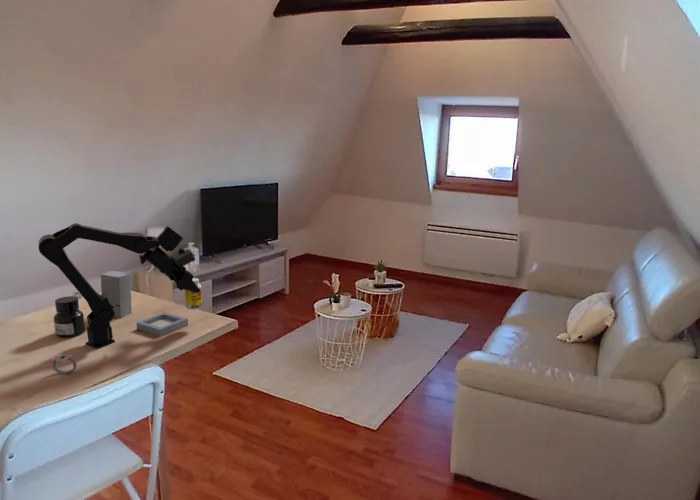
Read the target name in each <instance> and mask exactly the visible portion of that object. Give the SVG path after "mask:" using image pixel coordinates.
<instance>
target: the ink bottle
mask: <svg viewBox="0 0 700 500" xmlns="http://www.w3.org/2000/svg"><path fill="white" fill-rule="evenodd" d="M54 304H55V311H56V314H55V315H53V325H54V333H55V336H56V337H58V338H64V339H65V338H72V337H77V336H79V335H82V334H83V333H84V332H85V331H86V324H85V317H84V313H83V311H81V310H80V305H79V298H78V297H77V296H74V295H73V296H69V295H68V296H64V297H59V298H56V299H55V300H54Z"/></svg>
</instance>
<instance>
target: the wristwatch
mask: <svg viewBox="0 0 700 500" xmlns="http://www.w3.org/2000/svg"><path fill="white" fill-rule="evenodd" d="M68 361H70V362H71V363H72V366H73V368H72V369H70V370H67V371H66V370H65V371H64V370H61V369H60V368H59V367H58V366H57V362H68ZM52 369H53V370H54V371H55V372H57V373H58V374H61V375H67V374H71V373H73V372H74V371H75V370H76V369H77V362H76V360H75V359H74V358H73V356H72V355H71V354H70V355H69V354H68V355H67V354H63V355H62V354H60V355H59V356H58V357H56V358H55V360H54V361H53V363H52Z"/></svg>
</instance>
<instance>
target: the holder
mask: <svg viewBox="0 0 700 500" xmlns="http://www.w3.org/2000/svg"><path fill="white" fill-rule="evenodd" d="M188 325H189V318H188V317H182V316H180V315H178V314H172V313H169V312H166V311H164V312H161V313H158V314H155V315H152V316H150V317H148V318H144V319H143V320H139V321H137V322H136V329H137V330H139V331H141V332H145V333H148V334H151V335H155V336H158V337H163V336H165V335H168V334H170V333H173V332H175V331H178V330H180V329H182V328H184V327H187V326H188Z"/></svg>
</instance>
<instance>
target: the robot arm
mask: <svg viewBox="0 0 700 500" xmlns="http://www.w3.org/2000/svg"><path fill="white" fill-rule="evenodd" d="M78 239H82V240H88V241H91V242H92V241H93V242H98V243H103V244H108V245H114V246H118V247H121V248H123V249H125V250H127V251H130V252H133V253H136V254H138V258H139V263H140V264H141V265H144V264H145V263H146V262H148V263H149V264H151V265H152V266H154V267H155V269H157V270H158V271H159V272H160V273H161V274H162V275H165V276H166V277H167V278H168V279H169V280H170V281H171V282H174V283H173V284H174V286H175V287H176V288H177V290H179V291H183V290H184V291H185V290H189V291H193V292H197V293H199V292H200V289H199V288H198V287H197V285H196V284H195V283H194V282H193V280H192V279H193V278H195V276H194V274H193V273H191V272H190V271H189V270H187V267H186V265H188V264H190V263H192V262H195V261H196V258H195V256H194V254H193V252H192V251H191V249H184V248H182V247H181V248H179V249H177V254H176V255H175V256H172V255H169V254H168V253H166V252H173V251H174V250H175V249H176V248H177V247H178V246H179V244H181V242H183V240H184V238H183V237H182V235H180V234H179V233H177V232H176V231H175V230H173V229H172V228H171V227H170V226H168V225H167V226H165V227H164V229H163V230H162V232H161V233H159V234H158V235H157V237H156V236H149V235H148V236H147V235H144V234H143V233H142V232H118V231H117V232H116V231H112V230H109V229H108V230H107V229H103V228H98V227H92V226H88V225H83V224H80V223H77V222H76V223H72V224H70V225H68V226H67V227H65V228H62V229H61V230H58V231H56V232H54V233H52V234H45V235H42V236H41V237H40V239H39V240H38V251H39V254H41V255H42V256H43V257H44V258H45V259H47V261H49V263H51V264H53V265H55V266H56V267H57V268H58V269H59V270H60V271H61V272H62V273H63V275H64V276H65V277H66V278H67V279H68V281H69V282H70V283H71V285H72V286H73V287H74V288H75V289H76V290H77V291H78V292H79V294H80V295H81V296H82V298H84V300H85V301H86V303H87V304H88V306H89V309H90V311H91V312H89V313H88V315H87V316H86V320H87V323H88V326H87V327H86V334H87V342H85V345H86V346H90V347H92V348H94V349H100V348H102V347H106V346H108V345H110V344H112V343H115V342H116V340H115V339H113V338H114V337H113V336H114V335H113V328H112V326H111V321H113V319H114V318H115V317H114V315H115V312H114V309H113V308H114V305H113V303H112V301H111V300H109V299H108V298H107V296H106V294H105V293H103V294H102V293H101V294H100V293H99V292H97V291H96V289H94V287H93V286H92V285H91V283H90V282H89V281H88V280H87V278H86V277H84V275H83V274H82V273H81V271H80V270H79V269H78V268H77V266H76V265H75V264H74V263H73V262H72V260H71V259H70V258H69V256H68V254H67V252H66V250H65V248H66V247H68V246H69V245H71V243H73V242H74V241H76V240H78ZM160 247H161V248H160ZM164 250H165V251H166V252H165V251H164Z"/></svg>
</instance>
